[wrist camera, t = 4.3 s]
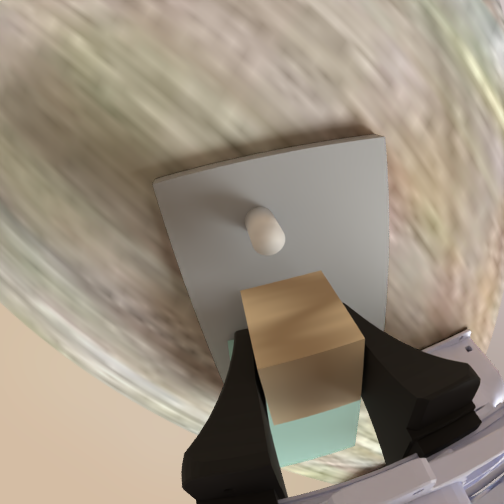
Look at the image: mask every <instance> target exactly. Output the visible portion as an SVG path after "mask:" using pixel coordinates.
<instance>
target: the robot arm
mask: <svg viewBox="0 0 504 504" xmlns="http://www.w3.org/2000/svg"><path fill="white" fill-rule="evenodd" d="M343 305H344V306H345V308H346V309H347V311H348V312H349V314H350V316H351V317H352V319H353V320H354V322H355V323H356V325H357V327H358V328H359V330H360V331H361V333H362V335H363V336H364V338H365V347H364V363H363V377H362V388H361V397H362V399H363V401H364V404H365V406H366V408H367V411H368V413H369V416H370V419H371V421H372V424H373V427H374V429H375V432H376V435H377V438H378V441H379V444H380V447H381V450H382V453H383V456H384V460H385V463H386V467H383V468H381V469H378V470H376V471H373V472H370V473H368V474H365V475H362V476H360V477H357V478H354V479H351V480H348V481H345V482H342V483H339V484H336V485H333V486H330V487H327V488H323V489H320V490H316V491H312V492H309V493H305V494H301V495H297V496H293V497H289V498H288V496H287V492H286V488H285V484H284V481H283V477H282V473H281V469H280V465H279V461H278V457H277V454H276V450H275V446H274V442H273V437H272V433H271V429H270V424H269V418H268V411H267V404H266V397H265V394H264V390H263V387H262V384H261V380H260V377H259V373H258V370H257V365H256V361H255V356H254V352H253V347H252V343H251V338H250V334H249V329H248V328H247V329H242V330H238V331H236V332H235V333H234V345H233V351H232V357H231V361H230V365H229V369H228V373H227V376H226V379H225V383H224V385H223V388H222V391H221V393H220V396H219V398H218V401H217V403H216V405H215V407H214V409H213V411H212V413H211V415H210V417H209V419H208V420H207V422H206V424H205V425H204V427H203V428H202V430H201V432H200V433H199V435H198V436H197V438H196V439H195V440H194V442H193V443H192V444H191V446H190V447H189V448H188V449H187V451H186V452H185V453H184V458H183V463H182V488H183V489H184V490H185V491H186V492H187V493H188V494H190V495H191V496H192V497H193V498H194V499H196V503H197V504H504V475H503V476H502V477H501V478H499V479H498V480H497V481H495V482H494V483H493V484H492V485H490V486H489V487H488V488H486V489H485V490H483V491H482V492H481V493H479V494H477V495H475V496H473V497H471V496H472V495H474V494H475V493H476V492H478V491H479V490H481V489H482V488H483V487H485V486H486V485H488V484H489V483H490V482H492V481H493V480H494V479H496V478H497V477H498V476H499V475H501V474H502V473H503V472H504V402H503V399H504V383H503V379H502V377H501V375H500V373H499V371H498V370H497V368H496V367H495V366H494V365H493V364H492V363H491V361H490V360H489V359H488V358H487V356H486V355H485V354H484V353H483V352H482V351H481V349H480V348H479V347H478V346H477V345H476V344H475V342H474V341H473V340H472V339H471V338H470V334H471V331H470V329H467V330H465V331H463V332H461V333H459V334H456V335H454V336H452V337H450V338H448V339H446V340H444V341H442V342H439V343H437V344H435V345H433V346H430V347H428V348H426V349H424V350H418V349H415V348H413V347H411V346H409V345H407V344H405V343H403V342H401V341H399V340H397V339H395V338H393V337H392V336H390V335H388V334H387V333H385V332H383V331H382V330H380V329H379V328H377V327H376V326H374V325H373V324H372V323H370V322H369V321H367V320H366V319H365V318H363V317H362V316H361V315H359V314H358V313H357V312H355V311H354V310H353V309H352V308H350V307H349V306H348V305H346V304H345V303H343Z"/></svg>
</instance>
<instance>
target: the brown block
mask: <svg viewBox="0 0 504 504" xmlns="http://www.w3.org/2000/svg"><path fill="white" fill-rule="evenodd" d="M240 292H241V297H242V302H243V306H244V311H245V316H246V320H247V325H248V329H249V334H250V338H251V343H252V347H253V352H254V356H255V361H256V365H257V370H258V373H259V377H260V380H261V384H262V387H263V390H264V394H265V397H266V401H267V404H268V408H269V411H270V414H271V418H272V421H273V424H274V425H278V424H282V423H286V422H290V421H294V420H297V419H301V418H305V417H308V416H312V415H315V414H319V413H322V412H325V411H328V410H332V409H335V408H338V407H341V406H344V405H347V404H350V403H353V402H356V401H358V400H360V399H361V388H362V377H363V363H364V347H365V338H364V336H363V335H362V333H361V331H360V330H359V328H358V327H357V325H356V323H355V322H354V320H353V319H352V317H351V316H350V314H349V312H348V311H347V309H346V308H345V306H344V305H343V303H342V302H341V300H340V299H339V297H338V295H337V294H336V292H335V291H334V289H333V288H332V286H331V285H330V283H329V282H328V280H327V279H326V277H325V276H324V274H323V273H322V271H321V270H320V271H316V272H312V273H308V274H305V275H301V276H297V277H293V278H289V279H285V280H281V281H277V282H273V283H269V284H265V285H261V286H257V287H253V288H249V289H245V290H241V291H240Z"/></svg>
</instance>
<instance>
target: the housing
mask: <svg viewBox="0 0 504 504" xmlns="http://www.w3.org/2000/svg"><path fill="white" fill-rule="evenodd" d="M227 342H228V349H229V356H230V361H231V357H232V351H233V345H234V340H230V341H227ZM360 402H361V399H360V400H358V401H356V402H353V403H350V404H347V405H344V406H341V407H338V408H335V409H332V410H328V411H325V412H322V413H319V414H315V415H312V416H308V417H305V418H301V419H297V420H294V421H290V422H286V423H282V424H278V425H274V424H273V421H272V418H271V414H270V411H269V408H268V404H267V401H266V404H267V411H268V418H269V424H270V429H271V433H272V437H273V442H274V446H275V450H276V454H277V457H278V461H279V465H280V467H284V466H288V465H293V464H296V463H300V462H304V461H308V460H311V459H315V458H318V457H322V456H325V455H328V454H332V453H335V452H338V451H341V450H344V449H347V448H350V447H353V446H355V441H356V434H357V427H358V419H359V411H360Z"/></svg>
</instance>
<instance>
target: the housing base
mask: <svg viewBox="0 0 504 504" xmlns="http://www.w3.org/2000/svg"><path fill="white" fill-rule="evenodd" d="M152 185H153V188H154V191H155V195H156V198H157V201H158V205H159V208H160V211H161V214H162V217H163V221H164V224H165V227H166V230H167V233H168V236H169V239H170V242H171V245H172V248H173V251H174V254H175V257H176V260H177V263H178V266H179V269H180V272H181V274H182V277H183V280H184V283H185V286H186V289H187V291H188V294H189V297H190V300H191V302H192V305H193V308H194V310H195V313H196V316H197V318H198V321H199V324H200V326H201V329H202V331H203V334H204V337H205V339H206V342H207V344H208V347H209V349H210V352H211V354H212V357H213V359H214V362H215V364H216V367H217V369H218V371H219V374H220V376H221V379H222V381H223V383H225V379H226V376H227V373H228V369H229V365H230V356H229V349H228V342H227V341H230V340H234V333H235V332H236V331H238V330H242V329H247V328H248V325H247V320H246V316H245V311H244V306H243V302H242V297H241V292H240V291H241V290H245V289H249V288H253V287H257V286H261V285H265V284H269V283H273V282H277V281H281V280H285V279H289V278H293V277H297V276H301V275H305V274H308V273H312V272H316V271H320V270H321V271H322V273H323V274H324V276H325V277H326V279H327V280H328V282H329V283H330V285H331V286H332V288H333V289H334V291H335V292H336V294H337V295H338V297H339V299H340V300H341V302H342V303H345V304H346V305H348V306H349V307H350V308H352V309H353V310H354V311H355V312H357V313H358V314H359V315H361V316H362V317H363V318H365V319H366V320H367V321H369V322H370V323H372V324H373V325H374V326H376V327H377V328H379V329H380V330H382V331H383V332H384V326H385V315H386V302H387V286H388V263H389V193H388V170H387V155H386V142H385V137H384V136H380V135H377V134H371V135H364V136H356V137H349V138H342V139H336V140H329V141H323V142H317V143H311V144H305V145H300V146H294V147H289V148H283V149H278V150H273V151H268V152H263V153H258V154H254V155H249V156H244V157H240V158H235V159H231V160H227V161H222V162H218V163H214V164H210V165H206V166H202V167H198V168H194V169H190V170H186V171H182V172H178V173H175V174H171V175H167V176H164V177H160V178H157V179H155V181H154V182H153V184H152Z"/></svg>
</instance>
